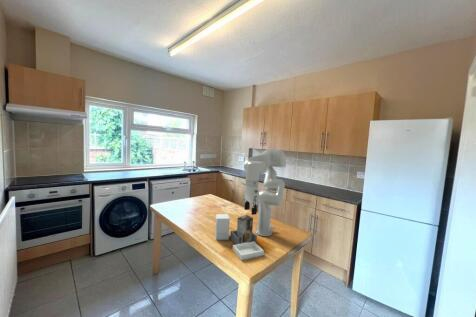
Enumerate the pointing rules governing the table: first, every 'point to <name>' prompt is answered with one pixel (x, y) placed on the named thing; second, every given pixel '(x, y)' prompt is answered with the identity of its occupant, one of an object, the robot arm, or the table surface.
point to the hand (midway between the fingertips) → (250, 211)
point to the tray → (248, 250)
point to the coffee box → (244, 229)
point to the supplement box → (222, 227)
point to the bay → (236, 240)
